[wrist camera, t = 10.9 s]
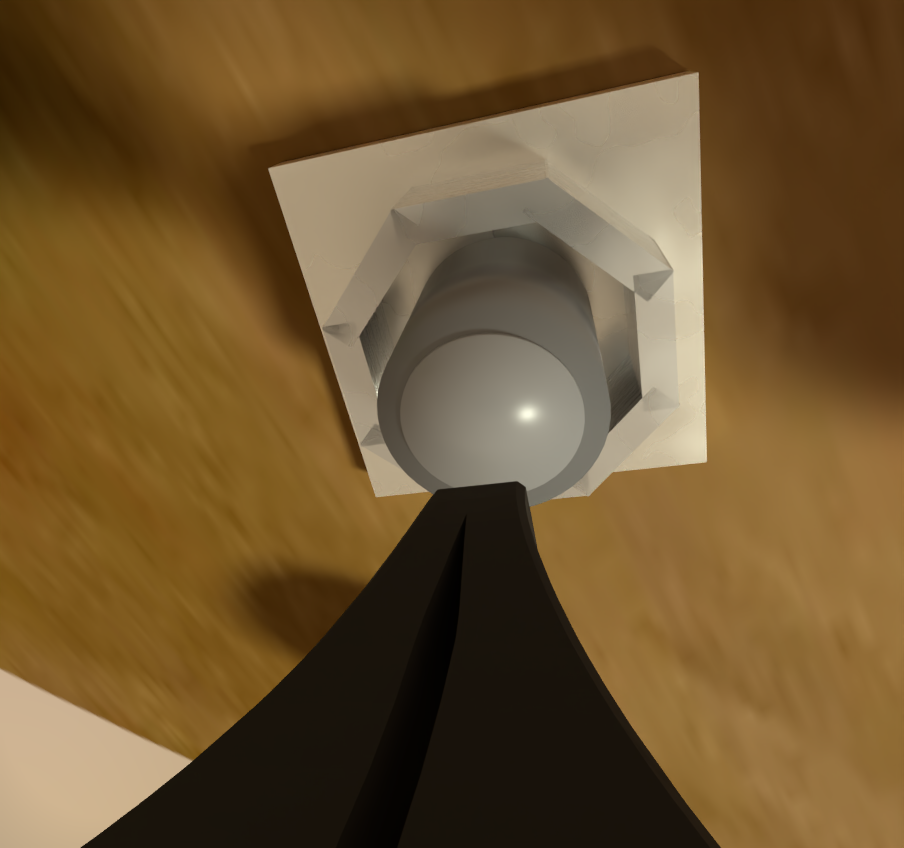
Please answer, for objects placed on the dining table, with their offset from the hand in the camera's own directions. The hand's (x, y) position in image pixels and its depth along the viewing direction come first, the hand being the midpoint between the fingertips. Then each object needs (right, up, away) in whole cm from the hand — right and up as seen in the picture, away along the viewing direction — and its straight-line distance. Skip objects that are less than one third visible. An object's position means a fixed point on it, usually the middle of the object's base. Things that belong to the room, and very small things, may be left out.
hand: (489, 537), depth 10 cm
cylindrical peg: (+1, +4, +7) cm, 8 cm away
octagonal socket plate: (+1, +5, +8) cm, 9 cm away
